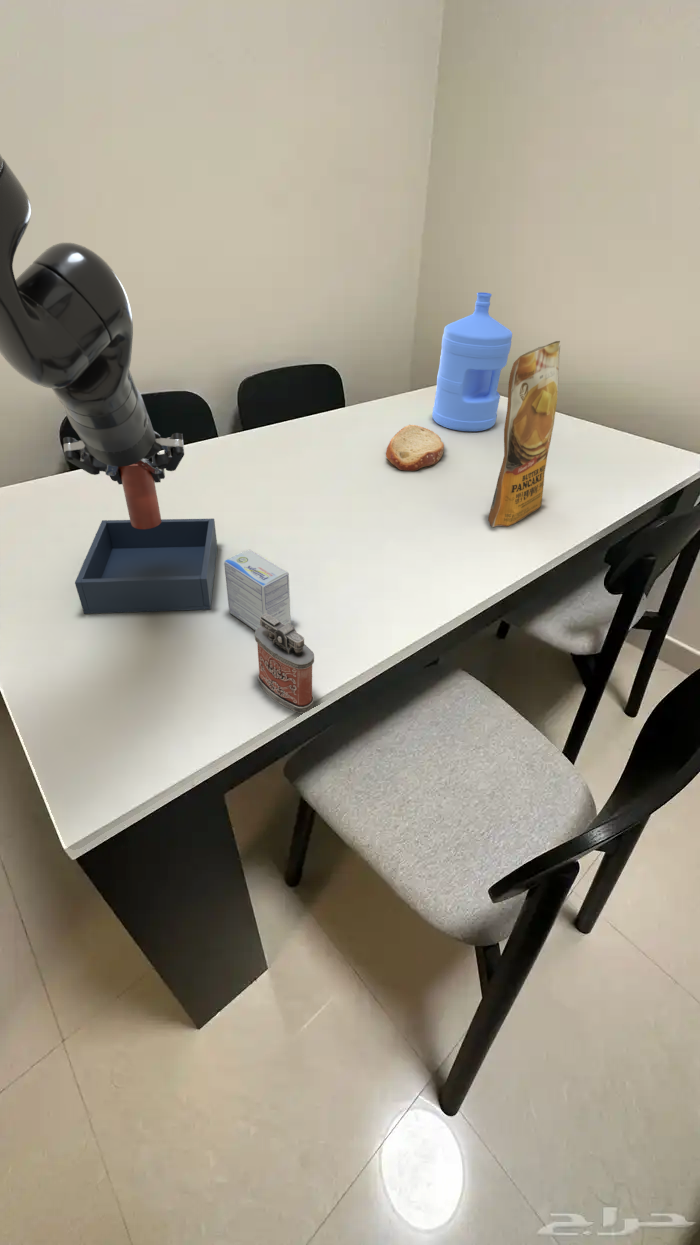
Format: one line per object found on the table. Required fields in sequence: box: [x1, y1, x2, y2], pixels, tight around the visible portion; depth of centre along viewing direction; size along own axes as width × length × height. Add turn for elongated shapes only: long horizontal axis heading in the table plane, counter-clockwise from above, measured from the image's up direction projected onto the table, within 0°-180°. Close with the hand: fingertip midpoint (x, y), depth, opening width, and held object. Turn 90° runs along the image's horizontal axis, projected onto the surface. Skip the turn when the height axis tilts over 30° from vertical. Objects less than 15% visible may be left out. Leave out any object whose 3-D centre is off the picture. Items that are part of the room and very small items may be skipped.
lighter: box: [254, 614, 315, 714], centre depth 65 cm, size 8×3×10 cm, turn 49°
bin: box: [74, 518, 218, 615], centre depth 83 cm, size 17×17×5 cm
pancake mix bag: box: [487, 340, 561, 528], centre depth 98 cm, size 7×19×28 cm, turn 137°
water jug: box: [432, 292, 513, 432], centre depth 136 cm, size 16×16×28 cm
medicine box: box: [223, 549, 292, 631], centre depth 76 cm, size 8×4×9 cm, turn 47°
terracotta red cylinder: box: [119, 464, 162, 529], centre depth 77 cm, size 4×4×9 cm
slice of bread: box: [385, 424, 445, 472], centre depth 126 cm, size 18×18×4 cm
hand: (139, 476), depth 77 cm, fingers closed on terracotta red cylinder, 4 cm apart
